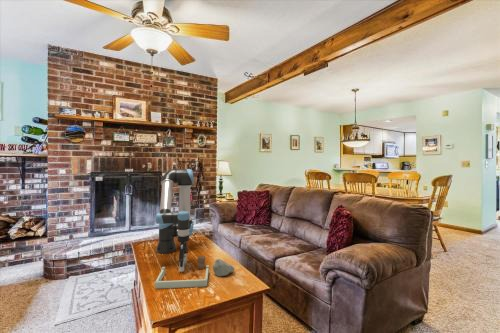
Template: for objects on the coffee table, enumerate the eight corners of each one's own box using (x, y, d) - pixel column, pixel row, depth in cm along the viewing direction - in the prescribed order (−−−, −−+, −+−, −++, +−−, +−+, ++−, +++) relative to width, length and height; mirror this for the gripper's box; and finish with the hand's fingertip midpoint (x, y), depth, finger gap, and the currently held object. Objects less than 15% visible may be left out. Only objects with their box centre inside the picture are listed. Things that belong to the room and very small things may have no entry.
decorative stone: (212, 278, 150) (222, 266, 148) (209, 265, 159) (218, 254, 158) (228, 284, 156) (238, 272, 155) (224, 271, 165) (233, 260, 164)
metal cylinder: (180, 266, 167) (180, 255, 167) (186, 266, 168) (186, 255, 168) (179, 268, 163) (179, 258, 163) (185, 268, 164) (185, 258, 164)
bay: (162, 273, 156) (162, 266, 155) (209, 272, 159) (209, 265, 159) (154, 288, 137) (154, 280, 137) (207, 286, 141) (207, 278, 141)
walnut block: (198, 266, 168) (198, 255, 168) (204, 265, 168) (205, 255, 168) (197, 269, 163) (197, 258, 163) (204, 268, 164) (204, 258, 164)
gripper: (180, 230, 177) (180, 260, 177) (174, 240, 153) (173, 275, 153) (191, 229, 178) (191, 259, 178) (186, 240, 154) (186, 275, 154)
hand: (183, 267), depth 166 cm, fingers open, 12 cm apart
